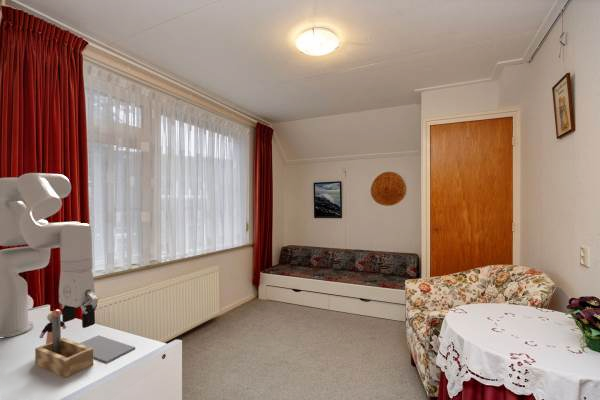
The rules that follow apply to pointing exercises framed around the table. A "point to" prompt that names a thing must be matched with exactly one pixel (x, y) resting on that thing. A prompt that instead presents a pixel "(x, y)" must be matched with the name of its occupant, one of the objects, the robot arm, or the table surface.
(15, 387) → the table surface
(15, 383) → the table surface
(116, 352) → the rubber mat
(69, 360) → the open wooden frame
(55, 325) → the post stand
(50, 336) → the grandmother figurine
